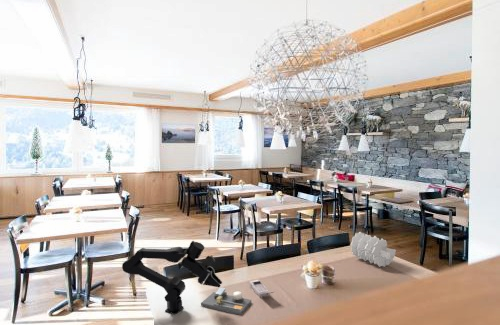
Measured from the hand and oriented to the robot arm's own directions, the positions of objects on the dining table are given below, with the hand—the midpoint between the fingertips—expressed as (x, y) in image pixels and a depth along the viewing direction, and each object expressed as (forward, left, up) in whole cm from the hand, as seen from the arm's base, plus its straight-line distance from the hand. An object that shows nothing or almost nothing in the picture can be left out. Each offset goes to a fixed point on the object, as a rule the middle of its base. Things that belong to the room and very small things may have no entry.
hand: (220, 284), depth 144 cm
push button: (+3, +11, -11) cm, 16 cm away
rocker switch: (-7, +11, -10) cm, 16 cm away
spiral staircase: (+61, +92, -14) cm, 111 cm away
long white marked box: (+9, +26, -14) cm, 31 cm away
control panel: (-2, +8, -14) cm, 16 cm away
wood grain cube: (-4, +5, -12) cm, 14 cm away
